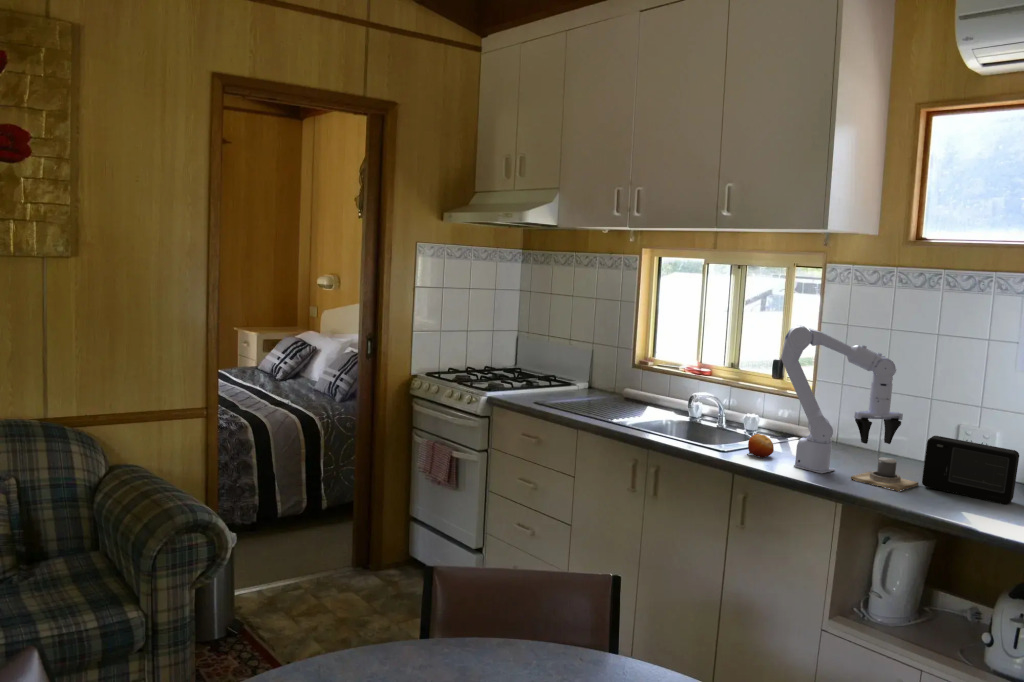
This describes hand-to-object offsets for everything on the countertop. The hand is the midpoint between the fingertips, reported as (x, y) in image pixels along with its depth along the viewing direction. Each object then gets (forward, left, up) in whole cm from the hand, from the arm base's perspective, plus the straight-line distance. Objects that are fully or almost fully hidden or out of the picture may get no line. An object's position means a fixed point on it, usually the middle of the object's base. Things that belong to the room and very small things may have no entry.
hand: (875, 443), depth 251 cm
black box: (+25, +6, -10) cm, 27 cm away
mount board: (+6, -5, -10) cm, 13 cm away
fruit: (-32, -10, -10) cm, 35 cm away
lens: (+6, -5, -9) cm, 12 cm away
